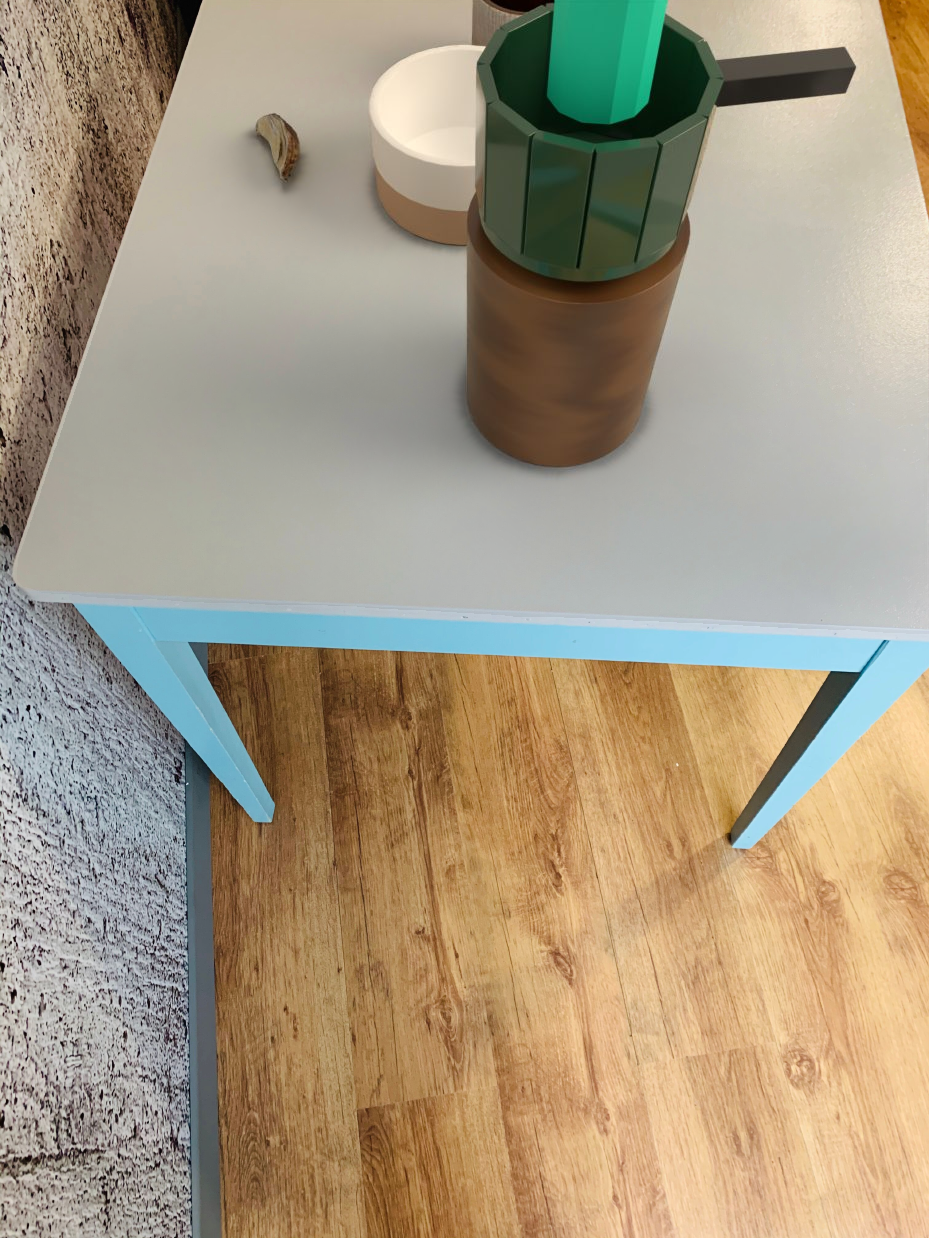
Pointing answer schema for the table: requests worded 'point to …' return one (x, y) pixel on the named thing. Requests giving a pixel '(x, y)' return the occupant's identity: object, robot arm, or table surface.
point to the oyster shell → (280, 142)
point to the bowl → (427, 141)
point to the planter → (498, 16)
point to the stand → (561, 352)
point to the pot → (611, 147)
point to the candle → (603, 57)
